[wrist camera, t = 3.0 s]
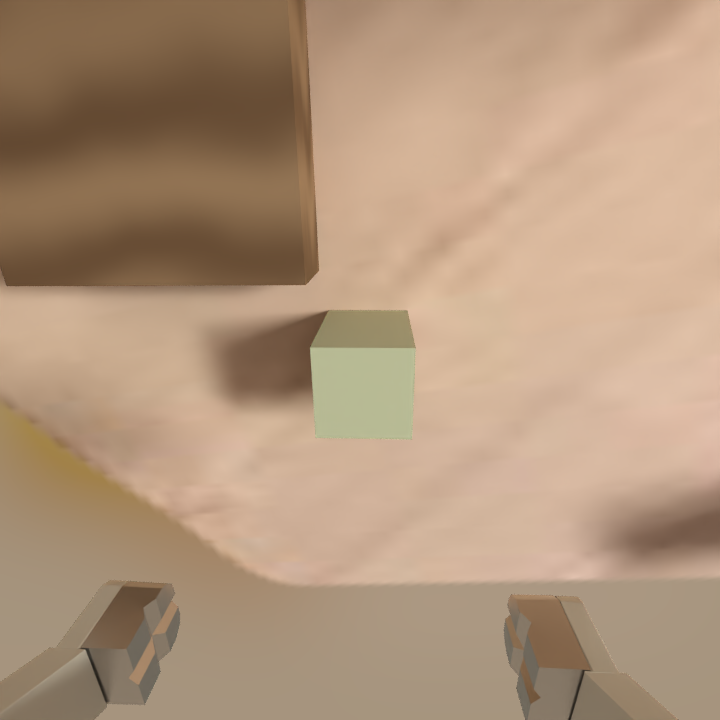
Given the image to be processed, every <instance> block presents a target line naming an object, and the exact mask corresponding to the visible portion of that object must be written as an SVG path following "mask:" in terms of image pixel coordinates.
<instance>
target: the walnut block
mask: <svg viewBox="0 0 720 720" xmlns="http://www.w3.org/2000/svg"><path fill="white" fill-rule="evenodd" d="M0 267H1V270H2V273H3V276H4V279H5V282H6V285H7V286H153V285H306V284H307V283H308V282H309V281H310V280H311V279H312V278H313V276H314V275H315V274H316V273H317V272H318V271H319V261H318V242H317V222H316V202H315V183H314V163H313V143H312V124H311V104H310V85H309V65H308V45H307V26H306V6H305V0H0Z"/></svg>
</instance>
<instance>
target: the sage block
mask: <svg viewBox="0 0 720 720" xmlns="http://www.w3.org/2000/svg"><path fill="white" fill-rule="evenodd" d="M415 352H416V347H415V343H414V338H413V334H412V329H411V325H410V320H409V316H408V311H378V310H329V311H328V313H327V315H326V317H325V319H324V321H323V323H322V325H321V327H320V329H319V331H318V333H317V335H316V337H315V339H314V340H313V342H312V344H311V346H310V356H311V372H312V388H313V404H314V420H315V436H316V438H357V439H410V440H412V426H413V402H414V377H415Z"/></svg>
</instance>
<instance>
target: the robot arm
mask: <svg viewBox="0 0 720 720" xmlns="http://www.w3.org/2000/svg"><path fill="white" fill-rule="evenodd" d="M174 594H175V592H174V589H173V586H172V584H168V583H152V582H137V581H118V580H109V581H108V582H106V583H105V584H103V585H102V586H101V588H100V589H99V590H98V592H97V593H96V594H95V596H94V597H93V598H92V600H91V601H90V602H89V604H88V605H87V606H86V608H85V609H84V611H83V612H82V613H81V614H80V616H79V617H78V618H77V620H76V621H75V623H74V624H73V625H72V627H71V628H70V629H69V631H68V632H67V633H66V635H65V636H64V638H63V639H62V640H61V642H60V643H59V644H58V645H57V647H56V648H48V649H47V650H45V651H44V652H43V653H41V654H40V655H39V656H37V657H35V658H34V659H32V660H31V661H30V662H28V663H27V664H25V665H24V666H22V667H21V668H20V669H18V670H17V671H15V672H14V673H12V674H11V675H9V676H8V677H7V678H5V679H4V680H2V681H1V682H0V720H94V719H95V718H96V717H97V716H98V715H99V714H100V713H101V712H102V711H103V710H104V709H105V708H106V707H107V704H138V705H145V703H146V701H147V699H148V697H149V695H150V693H151V690H152V689H153V686H154V684H155V682H156V680H157V678H158V676H159V674H160V666H159V661H160V660H161V659H162V658H163V657H164V656H165V655H167V654H168V653H169V652H170V651H171V649H172V646H173V644H174V642H175V640H176V637H177V633H178V629H179V624H180V612H179V608H178V606H177V605H176V604H175V603H173V602H172V601H171V600H172V598H173V596H174ZM508 609H509V612H510V616H508V617H507V618H506V619H505V625H504V626H505V627H504V639H505V646H506V652H507V656H508V660H509V664H510V666H511V668H512V669H513V670H514V671H515V672H516V673H517V674H518V675H519V677H518V682H517V688H516V689H517V692H518V696H519V700H520V703H521V706H522V710H523V713H524V717H525V720H678V719H677V718H676V717H675V716H674V715H673V714H671V713H670V712H669V711H668V710H667V709H666V708H665V707H664V706H663V705H661V704H660V703H659V702H658V701H657V700H656V699H655V698H654V697H652V696H651V695H650V694H649V693H648V692H647V691H646V690H645V689H644V688H642V687H641V686H640V685H639V684H638V683H637V682H636V681H635V680H633V679H632V678H631V677H630V676H629V675H628V674H627V673H619V672H618V670H617V668H616V666H615V664H614V662H613V660H612V658H611V656H610V654H609V652H608V650H607V648H606V646H605V644H604V643H603V641H602V639H601V637H600V635H599V633H598V631H597V629H596V627H595V625H594V623H593V621H592V619H591V617H590V616H589V614H588V611H587V610H586V608H585V606H584V604H583V602H582V601H581V600H580V599H579V598H578V597H574V596H553V595H511V596H510V597H509V600H508Z"/></svg>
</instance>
